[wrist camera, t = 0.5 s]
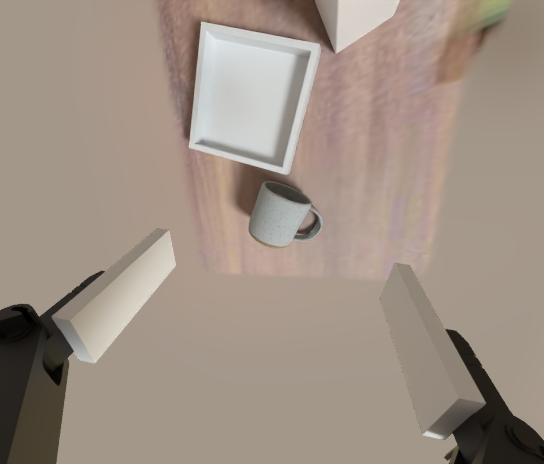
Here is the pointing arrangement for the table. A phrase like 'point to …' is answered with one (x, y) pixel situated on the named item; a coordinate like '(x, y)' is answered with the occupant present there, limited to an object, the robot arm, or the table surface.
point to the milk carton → (353, 18)
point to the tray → (251, 95)
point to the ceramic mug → (280, 215)
